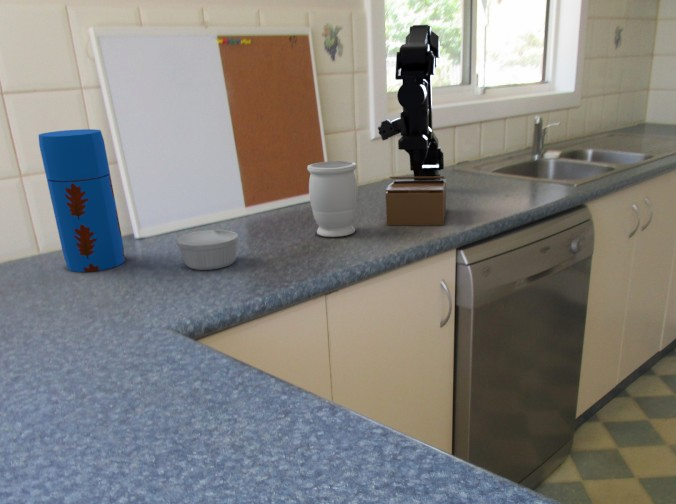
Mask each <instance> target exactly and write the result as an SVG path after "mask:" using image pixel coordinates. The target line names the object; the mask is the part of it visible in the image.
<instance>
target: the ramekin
mask: <svg viewBox="0 0 676 504" xmlns="http://www.w3.org/2000/svg"><path fill="white" fill-rule="evenodd" d="M238 242H239V235H238V233H237V232H234V231H231V230H227V229H206V230H198V231H193V232H189V233H186V234H183V235H181V236H179V237H178V238H177V239H176V245H177V247H178V248H179V252H180V254H181V257H182V260H183V263H184V264H185V266H187V267H188V268H189V269H191V270H195V271H212V270H219V269H222V268H223V269H224V268H226V267H229V266H231V265H232V264H234V262H235V261H236V260H237V256H238V255H237V253H238Z"/></svg>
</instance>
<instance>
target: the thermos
mask: <svg viewBox="0 0 676 504" xmlns="http://www.w3.org/2000/svg"><path fill="white" fill-rule="evenodd" d="M38 144H39V145H38V146H39V151H40V155H41V160H42V164H43V169H44V173H45V178H46V182H47V187H48V191H49V195H50V200H51V205H52V209H53V214H54V219H55V224H56V228H57V231H58V237H59V241H60V245H61V249H62V254H63V257H64V260H65V264H66V267H67V270H69V271H70V272H75V273H76V272H77V273H89V272H99V271H104V270H110V269H112V268H115V267H118V266H120V265H122V264H123V263H125V261H126V258H125V257H126V256H125V249H124V241H123V237H122V236H123V235H122V230H121V226H120V220H119V214H118V209H117V203H116V199H115V193H114V188H113V181H112V177H111V171H110V166H109V160H108V154H107V150H106V145H105V138H104V136H103V133H102V131H101V129H96V128H95V129H93V128H92V129H90V128H87V129H85V128H84V129H83V128H82V129H67V130H57V131H49V132H42V133H39V134H38Z"/></svg>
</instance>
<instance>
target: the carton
mask: <svg viewBox="0 0 676 504" xmlns="http://www.w3.org/2000/svg"><path fill="white" fill-rule="evenodd" d="M446 180H447V179H440V180H416V181H414V180H393V181H392V183H389V184H388V186H387V187H386V189H385V207H386V208H385V210H386V211H385V212H386V226H444V222H445V218H446V212H447V181H446ZM408 191H430V193H408Z"/></svg>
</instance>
